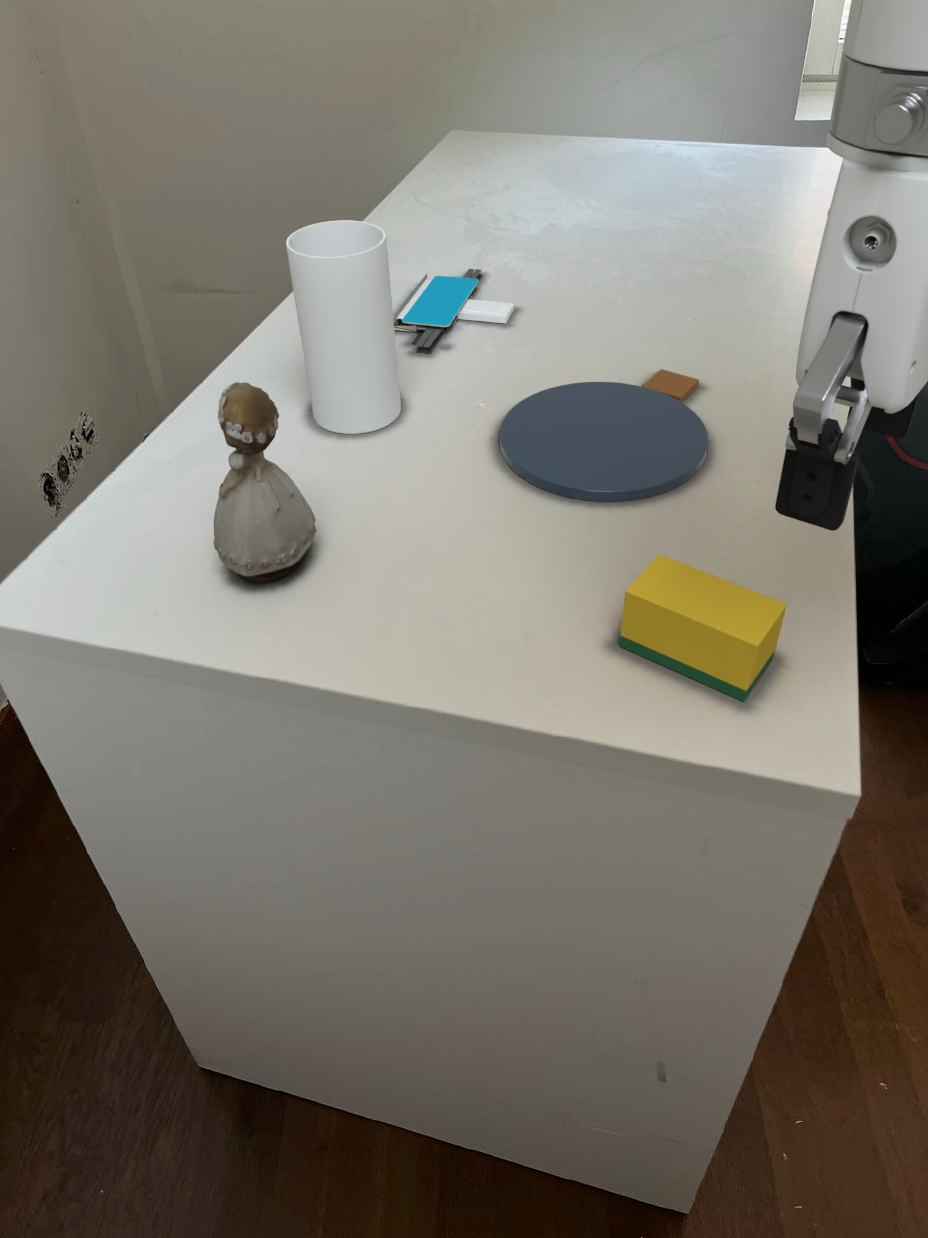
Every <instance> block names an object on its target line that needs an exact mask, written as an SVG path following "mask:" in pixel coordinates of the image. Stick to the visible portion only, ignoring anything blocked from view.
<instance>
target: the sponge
mask: <svg viewBox="0 0 928 1238" xmlns="http://www.w3.org/2000/svg"><path fill="white" fill-rule="evenodd" d="M787 608H788V603H786V602H783V601H781V600H778V599H776V598H773V597H770V596H768V595H765V594H763V593H760V592H758V591H755V590H753V589H750V588H748V587H745V586H742V585H740V584H737V583H734V582H732V581H730V580H727V579H724V578H721V577H719V576H717V575H714V574H711V573H708V572H706V571H704V570H700V569H698V568H696V567H693V566H691V565H688V564H685V563H683V562H680V561H679V560H675V559H672V558H671V557H667V556H665V555H662V554H657V555H656V556H655V557H654V559H653V560H652V561H651V562H650V563H648V565H647V567H646V568H644V569H643V571H642V572H641V573H640V574H639V575H638V576H637V578H635V579H634V581H633V582H632V583H631V584H630V585H629V586H628V587H627V588H626V589H625V591H624V600H623V609H622V618H621V625H620V637H619V645H618V646H619V647H620V648H622V649H624V650H627V651H629V652H631V653H633V654H636V655H638V656H640V657H643V658H645V659H647V660H649V661H651V662H654V663H656V664H658V665H660V666H663V667H664V668H667V669H670V670H672V671H673V672H676V673H678V674H680V675H683V676H685V677H687V678H689V679H692V680H694V681H696V682H699V683H700V684H703V685H705V686H707V687H710V688H712V689H714V690H716V691H718V692H720V693H722V694H725V695H728V696H730V697H732V698H734V699H736V700H739V701H741V702H745V701H746V699H747V698H748V696H749V695H750V694H751V692H752V690H753V689H754V687H756V685H757V683H758V682H759V680H760V679H761V678H762V676H763V675H764V674H765V671H766V670H767V669H768V667H769V666H770V664H771V663H772V661H773V659H774V655H775V652H776V648H777V644H778V641H779V637H780V633H781V629H782V626H783V622H784V619H785V615H786V611H787Z"/></svg>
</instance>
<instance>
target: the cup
mask: <svg viewBox="0 0 928 1238" xmlns="http://www.w3.org/2000/svg"><path fill="white" fill-rule="evenodd" d="M285 243H286V244H285V245H286V247H285V248H286V254H287V260H288V267H289V272H290V273H289V274H290V280H291V285H292V292H293V299H294V303H295V310H296V316H297V323H298V328H299V329H298V330H299V334H300V335H299V336H300V341H301V349H302V355H303V360H304V366H305V372H306V378H307V384H308V385H307V386H308V391H309V398H310V403H311V404H310V405H311V410H312V416H313V420H314V421H315V423H316V424H317V425H318V426H319V427H321V428H322V429H325V430H327V431H330V432H333V433H337V434H342V435H343V434H344V435H345V434H346V435H358V434H365V433H370V432H375V431H377V430H381V429H383V428H385V427H387V426H389V425H390V424H392V423H393V422H395V420H397V419H398V417H399V416H400V414H401V411H402V402H401V394H400V393H401V391H400V390H401V389H400V379H399V368H398V356H397V345H396V344H397V343H396V333H395V332H396V331H394V321H395V320H394V319H393V318H394V310H393V298H392V288H391V286H392V285H391V275H390V265H389V264H390V263H389V255H388V254H389V253H388V243H387V236H386V232H385V231H384V229H383V228H381V227H380V226H378V225H376V224H373V223H370V222H366V221H360V220H351V219H350V220H349V219H340V220H339V219H338V220H329V221H322V222H321V221H320V222H317V223H312V224H310V225H306V226H304V227H301V228H299V229H297V230H295V231H294V232H292V233H291V234H289V235H288V236H287V238H286V241H285Z"/></svg>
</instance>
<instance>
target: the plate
mask: <svg viewBox="0 0 928 1238" xmlns="http://www.w3.org/2000/svg"><path fill="white" fill-rule="evenodd" d="M499 428H500V429H499V449H500V452H501V456H502V457H503V459H504V461H505V462H506V464H507V465H508V467H509V468H510V469H511V470H512V471H513V472H514V473H515V474H517V475H518V476H519V477H520V478H521V479H523V480H525V481H526V482H528V483H530V484H531V485H533V486H535V487H537V488H539V489H542V490H545V491H547V492H550V493H553V494H556V495H559V496H562V497H566V498H571V499H576V500H582V501H592V502H626V501H634V500H635V501H636V500H641V499H646V498H647V499H648V498H650V497H653V496H658V495H662V494H664V493H666V492H669V491H671V490H674V489H675V488H677V487H679V486H681V485H683V484H684V483H686V482H688V481H689V480H690V479H691V478H693V477H694V475H696V474H697V473H698V471H699V470H700V469H701V468H702V466H703V465H704V462H705V459H706V457H707V451H708V446H709V435H708V434H709V433H708V432H707V429H706V425H705V424H704V423H703V421H702V419H701V418H700V416H699V415H698V414H697V413H696V412H695V411H693V410H692V409H691V408H690V407H689V406H688V405H686V404H684V403H683V402H680V401H678V400H676V399H674V398H672V397H671V396H668V395H666V394H663V393H661V392H658V391H655V390H652V389H649V388H645V387H642V386H640V385H637V384H630V383H625V382H624V383H623V382H616V381H615V382H614V381H583V382H574V383H566V384H561V385H557V386H553V387H550V388H546V389H544V390H540V391H538V392H536V393H533V394H530V395H529V396H528V397H525V398H524V399H522V400H521V401H519V402H518V403H516V404H515V405H514V406H513V407H512V408H511V409H510V410H509V411H508V412H507V413H506V415H505V416H504V418H503V420H502V422H501V424H500V427H499Z"/></svg>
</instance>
